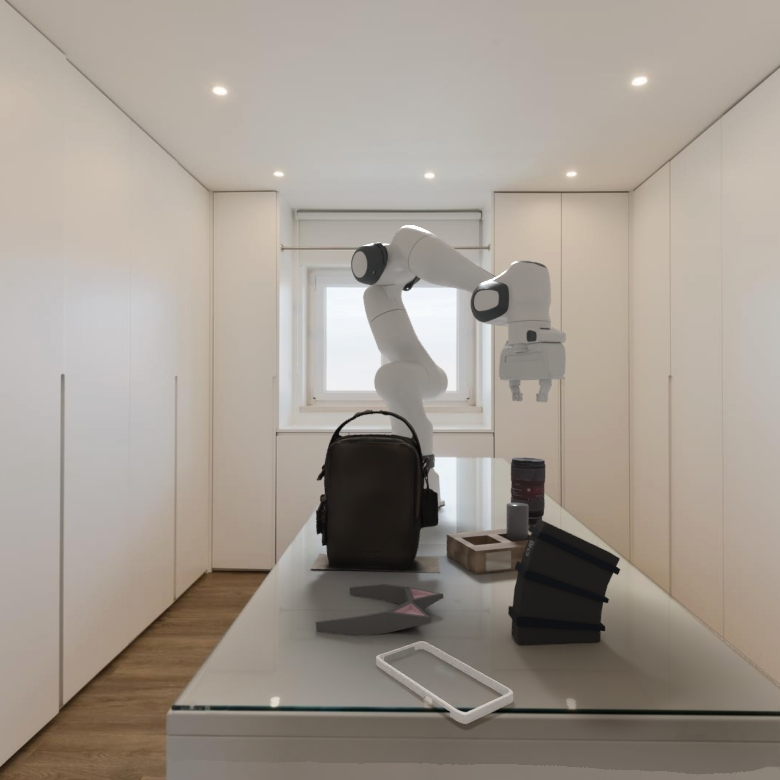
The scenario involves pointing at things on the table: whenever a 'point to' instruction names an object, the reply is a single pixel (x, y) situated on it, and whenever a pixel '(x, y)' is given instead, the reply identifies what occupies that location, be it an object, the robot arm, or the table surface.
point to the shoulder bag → (375, 502)
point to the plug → (517, 522)
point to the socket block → (485, 550)
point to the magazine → (560, 588)
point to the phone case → (454, 713)
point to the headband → (389, 620)
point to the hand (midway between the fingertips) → (529, 401)
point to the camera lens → (529, 485)
